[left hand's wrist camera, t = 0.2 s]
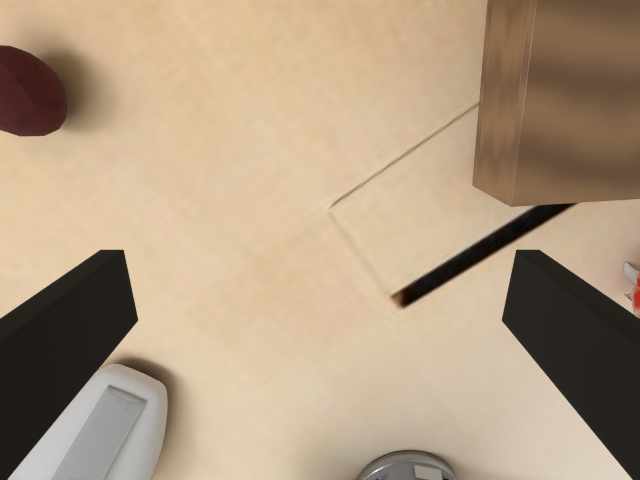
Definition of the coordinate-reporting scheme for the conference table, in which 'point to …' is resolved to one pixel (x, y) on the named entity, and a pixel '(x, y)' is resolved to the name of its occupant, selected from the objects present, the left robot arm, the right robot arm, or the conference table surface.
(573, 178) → the cabinet
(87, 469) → the projector
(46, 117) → the dark maroon ball
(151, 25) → the conference table surface
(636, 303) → the fish
